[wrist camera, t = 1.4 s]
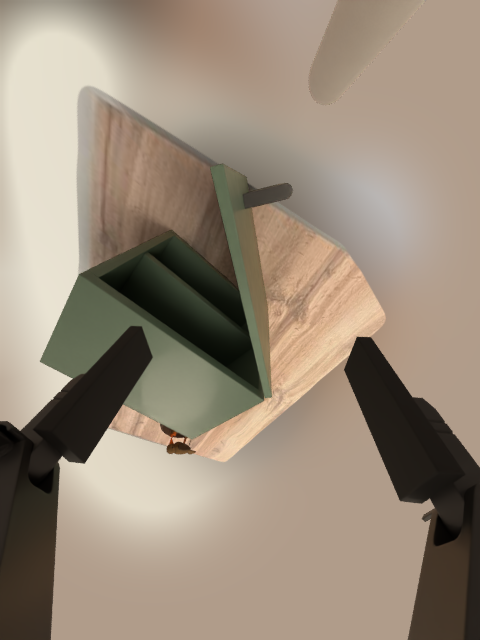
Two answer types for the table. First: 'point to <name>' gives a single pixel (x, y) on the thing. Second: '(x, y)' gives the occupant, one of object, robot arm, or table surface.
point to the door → (248, 255)
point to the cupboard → (164, 334)
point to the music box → (178, 446)
